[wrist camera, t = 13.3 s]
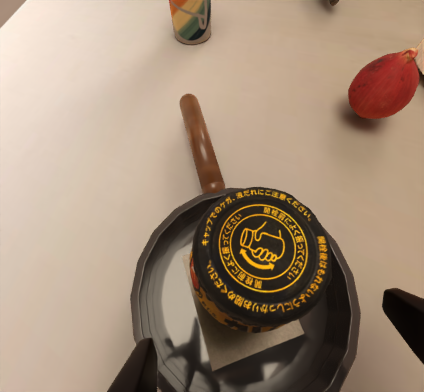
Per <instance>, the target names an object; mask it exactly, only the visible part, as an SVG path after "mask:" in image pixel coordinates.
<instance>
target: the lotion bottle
mask: <svg viewBox="0 0 424 392" xmlns="http://www.w3.org/2000/svg"><path fill="white" fill-rule="evenodd" d="M169 3H170V9H171V16H172V22H173V28H174V33H175V36H176V38H177V39H178V40H179V41H180V42H182V43H185V44H198V43H201V42H204V41H205V40H207V39H208V38H209V36H210V34H211V0H169Z"/></svg>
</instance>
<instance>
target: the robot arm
mask: <svg viewBox="0 0 424 392" xmlns="http://www.w3.org/2000/svg"><path fill="white" fill-rule="evenodd" d="M382 308H383V311H384V313H385V314H386V315H387V317H388V318H389V320H390V321H391V322H392V324H393V325H394V326H395V328H396V329H397V330H398V332H399V333H400V335H401V336H402V337H403V339H404V340H405V341H406V343H407V344H408V345H409V347H410V348H411V349H412V351H413V352H414V353H415V355H416V356H417V357H418V358H419V359H420V361H421V362H422V363H423V364H424V299H422V298H420V297H418V296H415V295H413V294H410V293H408V292H405V291H403V290H400V289H398V288H391V289H387V290H385V291H384V295H383V303H382ZM157 367H158V356H157V351H156V348H155V345H154V341H153V339H152V338H145V339H141V340H140V341H139V342H138V344H137V346H136V347H135V349H134V350H133V352H132V353H131V355H130V357H129V358H128V360H127V361H126V363H125V364H124V366H123V367H122V369H121V371H120V372H119V374H118V375H117V377H116V378H115V380H114V382H113V383H112V385H111V386H110V388H109V389H108V391H107V392H157Z"/></svg>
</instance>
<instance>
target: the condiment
mask: <svg viewBox="0 0 424 392" xmlns="http://www.w3.org/2000/svg"><path fill="white" fill-rule="evenodd" d="M182 259H183V263H184V266H185V270H186V274H187V278H188V281H189V285H190V289H191V293H192V296H193V300H194V304H195V308H196V311H197V315H198V319H199V323H200V326H201V330H202V334H203V338H204V342H205V345H206V349H207V353H208V357H209V360H210V364H211V368H212V371H214V370H217V369H219V368H221V367H223V366H226V365H228V364H231V363H233V362H235V361H238V360H240V359H242V358H245V357H247V356H250V355H252V354H255V353H257V352H260V351H262V350H265V349H266V348H269V347H272V346H275V345H277V344H280V343H282V342H285V341H287V340H289V339H292V338H295V337H297V336H300V335H302V334H304V331H303V329H302V327H301V324H300V322H299V320H298V319H300V318H302V317H303V316H305V315H307V314H308V312H310V311H311V310H312V309H313V308H314V307H315V306H316V305H317V304H318V303H319V302H320V300H321V299H322V297H323V294H324V292H325V291H326V288H327V286H328V285H329V283H330V281H331V278H332V270H331V246H330V243H329V241H328V238H327V235H326V233H325V232H324V230H323V228H322V225H321V223H319V222H318V220H317V218H316V216H315V215H314V214H313V213H312V211H311V210H310V209H309V208H308V207H306V206H304V205H303V204H302V203H300V202H299V201H298V200H296V199H295V198H294V197H293V196H292V195H290V194H288V193H286V192H283V191H279V190H276V189H270V188H264V187H251V188H246V189H241V190H236V191H232V192H230V193H228V194H225V195H224V196H222V197H221V198H220V199H219V200H218V201H216V202H215V203H213V204H212V205H211V206H210V207H209V209H208V210H207V211H206V212H205V213H204V214H203V216H202V218H201V219H200V220H199V223H198V225H197V227H196V231H195V234H194V236H193V244H192V249H191V253H190V254H187V255H184V256H182Z"/></svg>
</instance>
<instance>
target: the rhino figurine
mask: <svg viewBox="0 0 424 392" xmlns="http://www.w3.org/2000/svg"><path fill="white" fill-rule="evenodd" d="M338 1H339V0H329V2H330V4H331V5H332V6H333V5H335V4H336V3H337V2H338Z"/></svg>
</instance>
